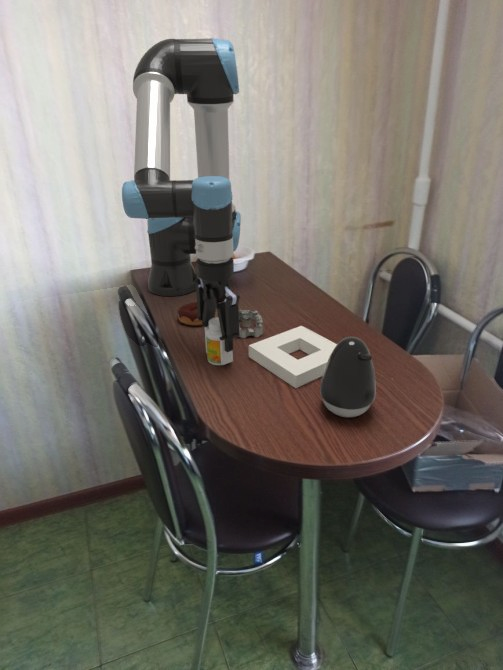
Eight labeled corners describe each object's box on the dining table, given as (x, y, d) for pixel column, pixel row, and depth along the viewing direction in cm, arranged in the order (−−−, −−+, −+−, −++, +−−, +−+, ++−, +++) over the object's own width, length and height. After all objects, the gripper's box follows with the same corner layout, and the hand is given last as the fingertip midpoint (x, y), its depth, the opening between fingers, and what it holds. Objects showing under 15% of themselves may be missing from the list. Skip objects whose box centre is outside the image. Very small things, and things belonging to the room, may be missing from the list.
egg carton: (264, 338, 116) (264, 323, 114) (233, 340, 116) (233, 325, 114) (259, 319, 126) (259, 305, 124) (231, 320, 125) (231, 306, 123)
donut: (212, 310, 131) (211, 296, 129) (220, 325, 123) (219, 311, 121) (176, 314, 129) (174, 301, 127) (181, 330, 120) (180, 316, 118)
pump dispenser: (338, 432, 84) (345, 358, 77) (309, 400, 93) (313, 331, 86) (384, 417, 88) (395, 346, 81) (352, 388, 96) (360, 321, 89)
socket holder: (248, 356, 108) (248, 345, 107) (300, 336, 116) (301, 325, 115) (295, 388, 97) (296, 375, 95) (349, 363, 105) (350, 351, 104)
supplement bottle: (202, 360, 107) (200, 321, 102) (219, 351, 110) (218, 313, 106) (219, 368, 104) (217, 329, 99) (236, 359, 107) (235, 320, 103)
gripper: (176, 250, 100) (184, 346, 111) (225, 274, 87) (228, 380, 98) (206, 243, 104) (211, 336, 115) (257, 265, 91) (257, 368, 102)
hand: (219, 356), depth 107 cm, fingers closed on supplement bottle, 5 cm apart
